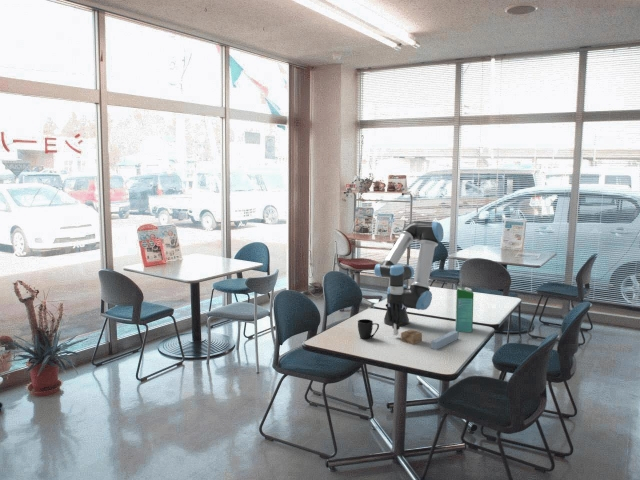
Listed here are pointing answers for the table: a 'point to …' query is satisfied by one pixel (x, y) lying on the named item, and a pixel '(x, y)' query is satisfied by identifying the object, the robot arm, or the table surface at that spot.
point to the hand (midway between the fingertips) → (395, 334)
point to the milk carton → (464, 309)
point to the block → (411, 336)
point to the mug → (366, 328)
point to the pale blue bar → (444, 340)
